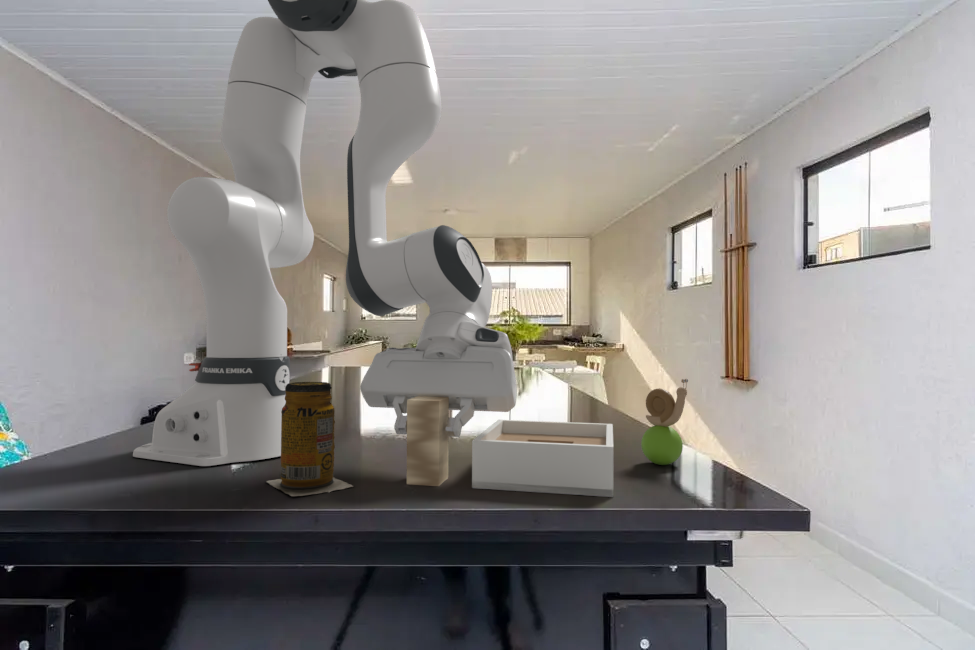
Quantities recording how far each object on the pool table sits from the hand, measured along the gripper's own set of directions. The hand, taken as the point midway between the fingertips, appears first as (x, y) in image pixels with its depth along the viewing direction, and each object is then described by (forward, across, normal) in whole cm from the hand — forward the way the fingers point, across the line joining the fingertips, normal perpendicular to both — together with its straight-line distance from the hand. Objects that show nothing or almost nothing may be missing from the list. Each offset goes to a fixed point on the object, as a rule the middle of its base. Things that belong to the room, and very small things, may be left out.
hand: (426, 433), depth 69 cm
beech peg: (+4, 0, +5) cm, 6 cm away
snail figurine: (-7, +29, +15) cm, 34 cm away
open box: (0, +14, +9) cm, 17 cm away
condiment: (+8, -13, +1) cm, 15 cm away
